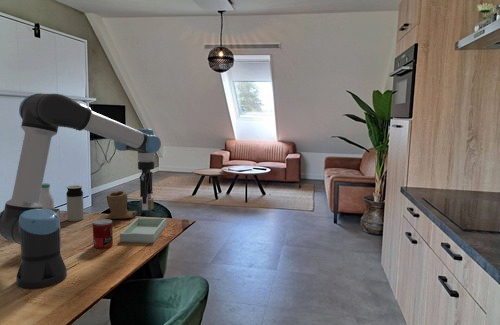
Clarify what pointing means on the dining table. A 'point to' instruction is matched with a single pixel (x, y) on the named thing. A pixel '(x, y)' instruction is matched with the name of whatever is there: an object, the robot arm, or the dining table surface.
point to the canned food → (102, 233)
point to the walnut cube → (150, 204)
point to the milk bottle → (46, 197)
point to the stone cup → (119, 206)
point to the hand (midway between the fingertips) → (146, 208)
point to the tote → (143, 230)
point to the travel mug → (75, 203)
